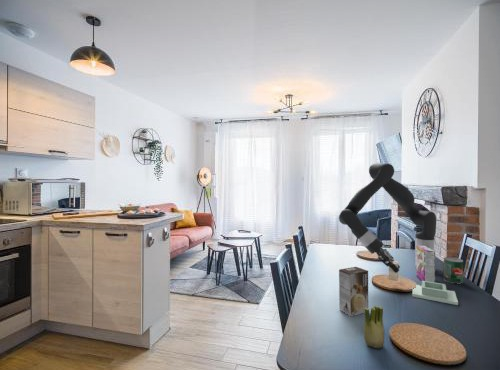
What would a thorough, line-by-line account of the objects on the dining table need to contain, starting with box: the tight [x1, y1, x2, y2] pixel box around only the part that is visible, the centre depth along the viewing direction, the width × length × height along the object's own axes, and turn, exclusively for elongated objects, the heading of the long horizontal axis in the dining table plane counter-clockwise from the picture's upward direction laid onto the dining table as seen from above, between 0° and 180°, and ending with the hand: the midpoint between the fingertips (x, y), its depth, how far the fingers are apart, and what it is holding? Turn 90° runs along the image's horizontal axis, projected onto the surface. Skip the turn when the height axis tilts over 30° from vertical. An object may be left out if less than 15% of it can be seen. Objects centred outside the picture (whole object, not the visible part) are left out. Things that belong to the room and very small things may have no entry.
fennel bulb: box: [363, 305, 385, 349], centre depth 84 cm, size 6×5×12 cm
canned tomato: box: [443, 256, 464, 285], centre depth 138 cm, size 8×8×11 cm
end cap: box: [411, 280, 459, 306], centre depth 121 cm, size 13×16×4 cm
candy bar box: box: [415, 246, 436, 283], centre depth 139 cm, size 11×5×16 cm, turn 168°
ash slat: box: [388, 260, 399, 282], centre depth 131 cm, size 4×4×8 cm
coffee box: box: [338, 266, 369, 317], centre depth 106 cm, size 9×6×16 cm
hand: (398, 269), depth 130 cm, fingers closed on ash slat, 4 cm apart
